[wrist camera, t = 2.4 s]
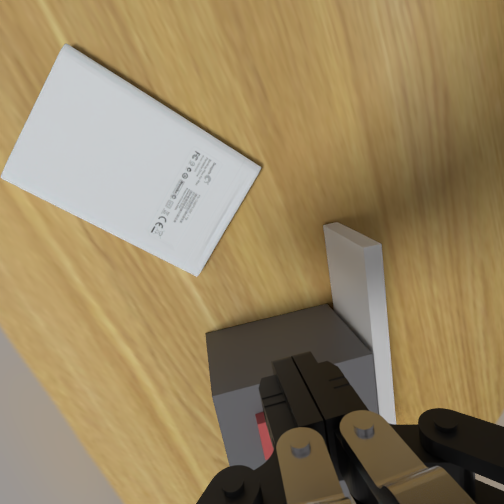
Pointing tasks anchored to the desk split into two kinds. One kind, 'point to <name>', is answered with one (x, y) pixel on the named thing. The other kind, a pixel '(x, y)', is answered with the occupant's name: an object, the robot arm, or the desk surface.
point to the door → (362, 301)
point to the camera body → (259, 366)
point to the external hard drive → (128, 163)
